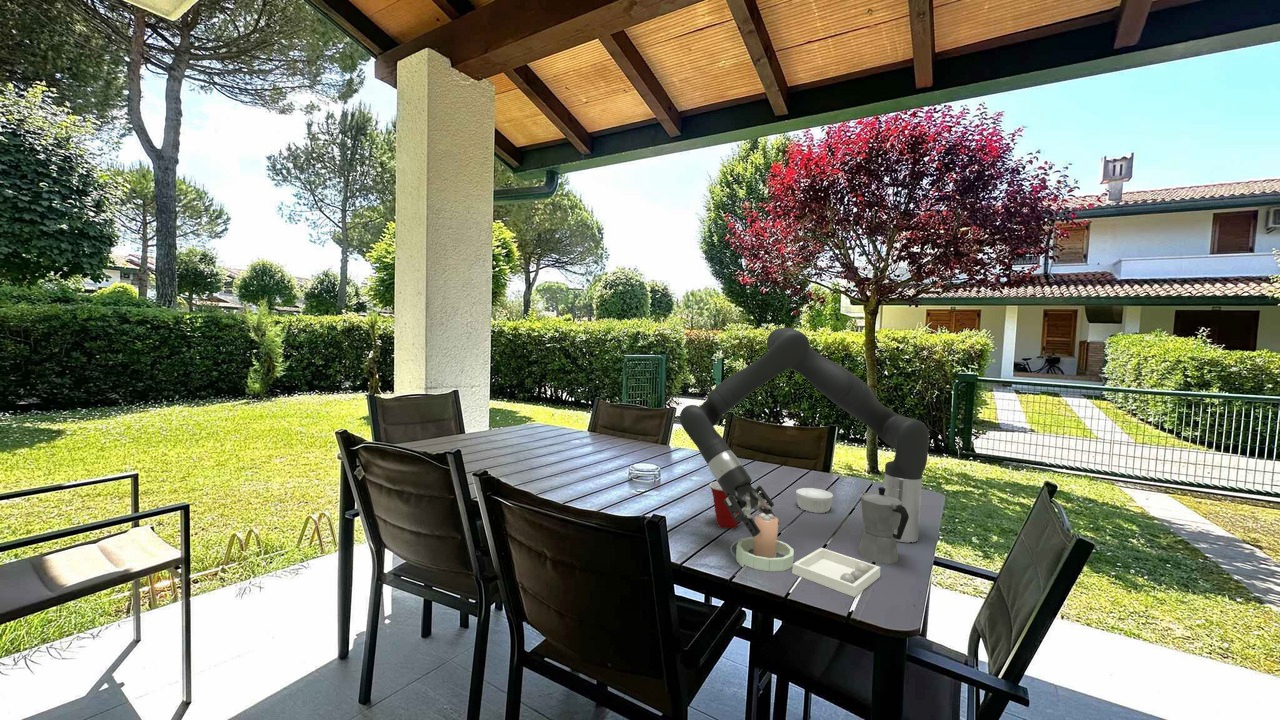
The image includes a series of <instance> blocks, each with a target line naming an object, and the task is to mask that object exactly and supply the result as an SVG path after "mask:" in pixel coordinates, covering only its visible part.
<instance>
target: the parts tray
mask: <svg viewBox="0 0 1280 720" xmlns="http://www.w3.org/2000/svg"><path fill="white" fill-rule="evenodd" d="M791 571H792V575H795V576H798V577H799V578H802V579H805V580H808V581H811V582H813V583H815V584H819V585H821V586H823V587H826V588H828V589H832V590H834V591H837V592H840V593H843V594H844V595H847V596H850V597H853V598H855V597H856V596H858V595H859V594H860V593H861V592H863V591H864V590H865V589H866V588H868V587H869V586H871V585H872V584H873V583H875V581H877V579H879V578H880V577H881V566H878V565H875V564H873V563H869V562H866V561H863V560H859V559H857V558H854V557H850V556H848V555H846V554H841V553H839V552H836V551H833V550H831V549H826V548H824V547H819V548H818V549H816V550H814V551H813V552H811V553H809V554H808V555H805V556H804V557H802V558H801V559H798V560H797V561H795V562H793V566H792V570H791Z"/></svg>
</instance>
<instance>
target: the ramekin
mask: <svg viewBox="0 0 1280 720" xmlns="http://www.w3.org/2000/svg"><path fill="white" fill-rule="evenodd" d="M795 495H796V500H797V507H800V508H801V509H800V508H799V509H800V510H802V509H803V510H802V511H804V510H806V511H805V512H807V511H809V513H812V512H814V513H813V514H825V512H826V513H828V512H829V511H830V509H831V505H832V502H833V499H834V495H833V493H832V492H830V491H828V490H824V489H820V488H814V487H802V488H798V489H796V490H795Z"/></svg>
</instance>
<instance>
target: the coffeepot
mask: <svg viewBox="0 0 1280 720" xmlns="http://www.w3.org/2000/svg"><path fill="white" fill-rule="evenodd" d="M877 489H878V493H874V492H862V493H861V494H862V495H860V501H861V513H862V522H863V524H864V530H863V531H862V535H861V539H860V544H859V547H858V550H857V552H858V553H859V555H860V557H861V558H862V559H865V560H867V561H871V562H873V563H876V564H888V565H892V564H894V563H896V562H899V555H898V546H897V541H896V539H898V540H900V539H901V537H902V535H903V532H904V529H905V527H906V524H907V522H908V519H909V515H908V513H907V511H906V508H905V507H904V506H902V504H903V503H902V502H901V501H900V500H898V499H897V498H894V497H890V496H887V495H884V493H885V490H886V489H885V488H884V486H881V487H880V486H879V487H878V488H877ZM900 514H901V519H900V524H899V526H898V528H897V525H898V521H899V516H900ZM895 529H897V534H894V530H895Z"/></svg>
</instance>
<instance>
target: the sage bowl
mask: <svg viewBox="0 0 1280 720" xmlns="http://www.w3.org/2000/svg"><path fill="white" fill-rule="evenodd" d="M753 548H754V537H753V536H749V537H745V538H743V539H740V540H738V542H737V544H736V553H735V554H736V555H735V561H736V562H737V563H738V564H739V566H741V567H742V568H744V567H745V566H746V567H749V568H752V569H753V570H760V571H764V572H784V571H786V570H788V569H791V568H793V563H794V556H795V555H794V553H795V552H794V551H795V550H794V548H793V547H791V546H790V545H789V544H788V543H786V542H784V541H781V540H778V539H777V553H778V554H780V555H782V557H776V558H766V557H760V556H755V555H753V553H750V552H751V551H750V550H753Z"/></svg>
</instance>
